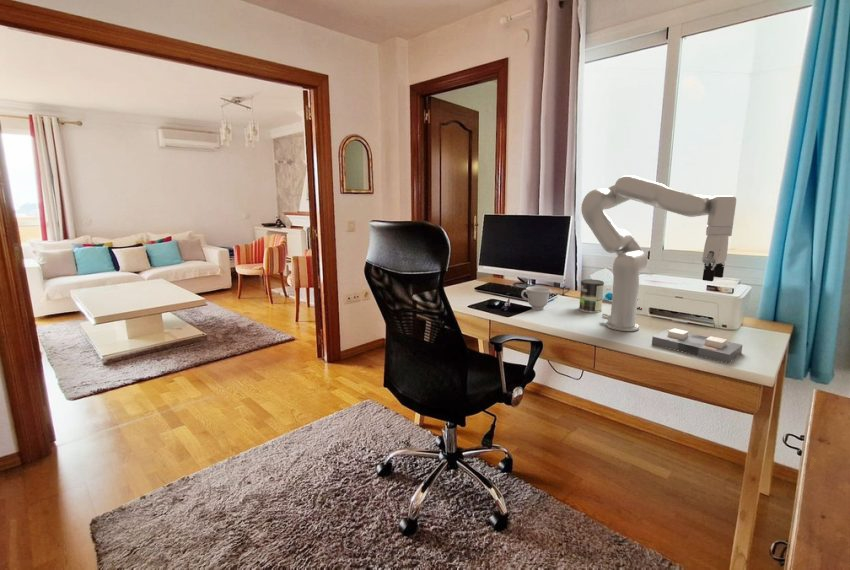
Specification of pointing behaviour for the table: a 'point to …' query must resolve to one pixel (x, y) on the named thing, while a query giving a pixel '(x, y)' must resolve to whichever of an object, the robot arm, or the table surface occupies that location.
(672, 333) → the switch left
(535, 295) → the teacup
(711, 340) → the switch right
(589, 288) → the coffee can
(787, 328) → the table surface
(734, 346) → the switch panel
